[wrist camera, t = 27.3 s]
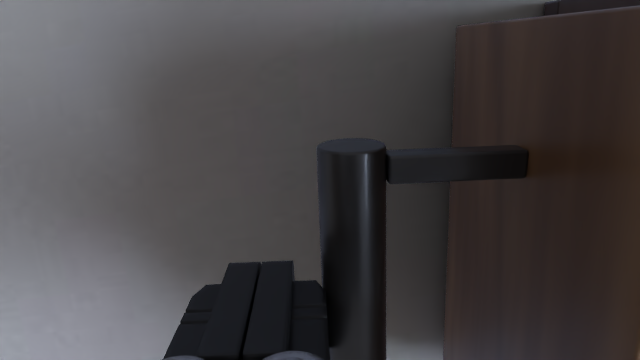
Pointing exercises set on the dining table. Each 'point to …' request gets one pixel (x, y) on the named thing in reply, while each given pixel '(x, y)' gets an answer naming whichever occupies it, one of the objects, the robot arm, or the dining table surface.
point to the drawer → (509, 198)
